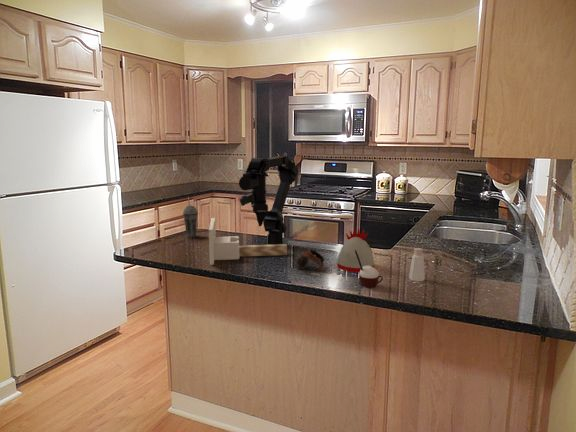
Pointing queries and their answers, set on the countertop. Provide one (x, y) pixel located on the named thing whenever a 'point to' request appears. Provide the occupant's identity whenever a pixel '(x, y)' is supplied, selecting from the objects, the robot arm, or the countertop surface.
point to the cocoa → (368, 275)
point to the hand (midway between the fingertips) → (259, 224)
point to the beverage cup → (190, 220)
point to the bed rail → (262, 250)
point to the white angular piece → (222, 245)
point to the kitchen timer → (348, 255)
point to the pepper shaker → (417, 266)
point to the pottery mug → (310, 254)
